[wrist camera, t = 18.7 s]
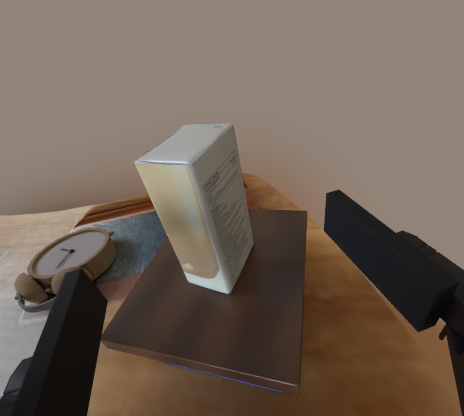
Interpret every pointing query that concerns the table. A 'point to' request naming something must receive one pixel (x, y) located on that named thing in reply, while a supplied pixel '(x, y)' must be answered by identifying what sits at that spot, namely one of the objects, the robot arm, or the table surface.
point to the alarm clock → (64, 265)
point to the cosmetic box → (201, 202)
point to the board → (225, 310)
